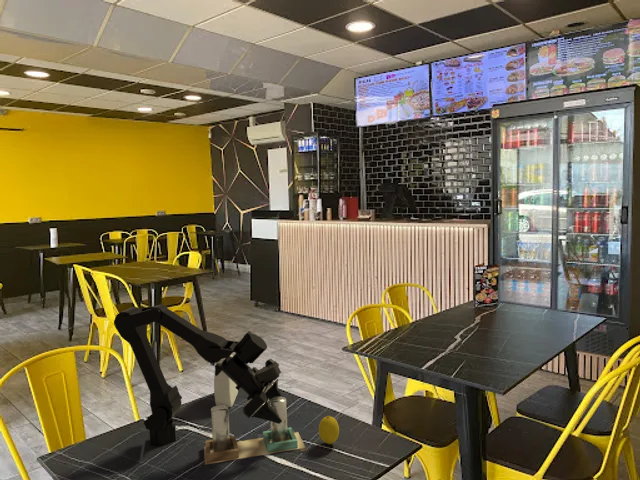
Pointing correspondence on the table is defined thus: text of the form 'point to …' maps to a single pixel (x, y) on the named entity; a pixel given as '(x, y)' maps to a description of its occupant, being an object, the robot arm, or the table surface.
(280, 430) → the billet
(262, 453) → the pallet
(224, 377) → the soap bottle
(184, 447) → the table surface
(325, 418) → the lemon
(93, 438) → the table surface
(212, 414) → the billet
